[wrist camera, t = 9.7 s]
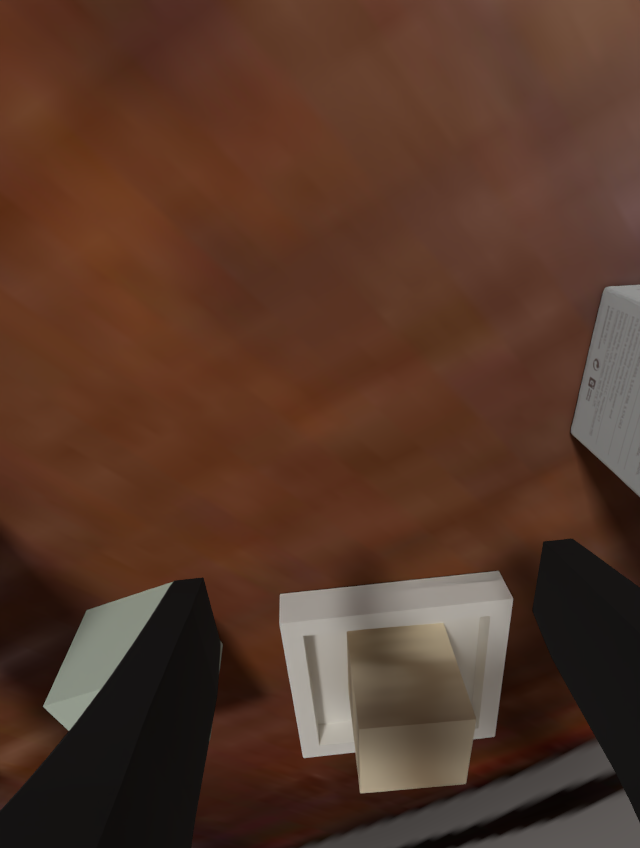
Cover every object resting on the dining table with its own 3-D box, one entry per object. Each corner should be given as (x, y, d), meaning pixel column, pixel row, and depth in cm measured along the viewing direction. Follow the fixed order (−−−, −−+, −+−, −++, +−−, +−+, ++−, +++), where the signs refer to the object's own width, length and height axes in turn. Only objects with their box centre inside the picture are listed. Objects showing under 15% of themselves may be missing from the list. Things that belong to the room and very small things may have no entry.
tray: (302, 726, 30) (303, 757, 28) (279, 594, 25) (279, 623, 23) (483, 706, 30) (494, 736, 28) (498, 570, 25) (513, 598, 23)
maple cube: (348, 692, 28) (360, 793, 23) (346, 630, 25) (359, 729, 21) (437, 685, 28) (465, 783, 23) (443, 622, 25) (476, 719, 21)
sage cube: (138, 669, 27) (109, 769, 22) (87, 608, 25) (43, 706, 20) (223, 643, 26) (209, 740, 22) (178, 579, 24) (153, 672, 20)
